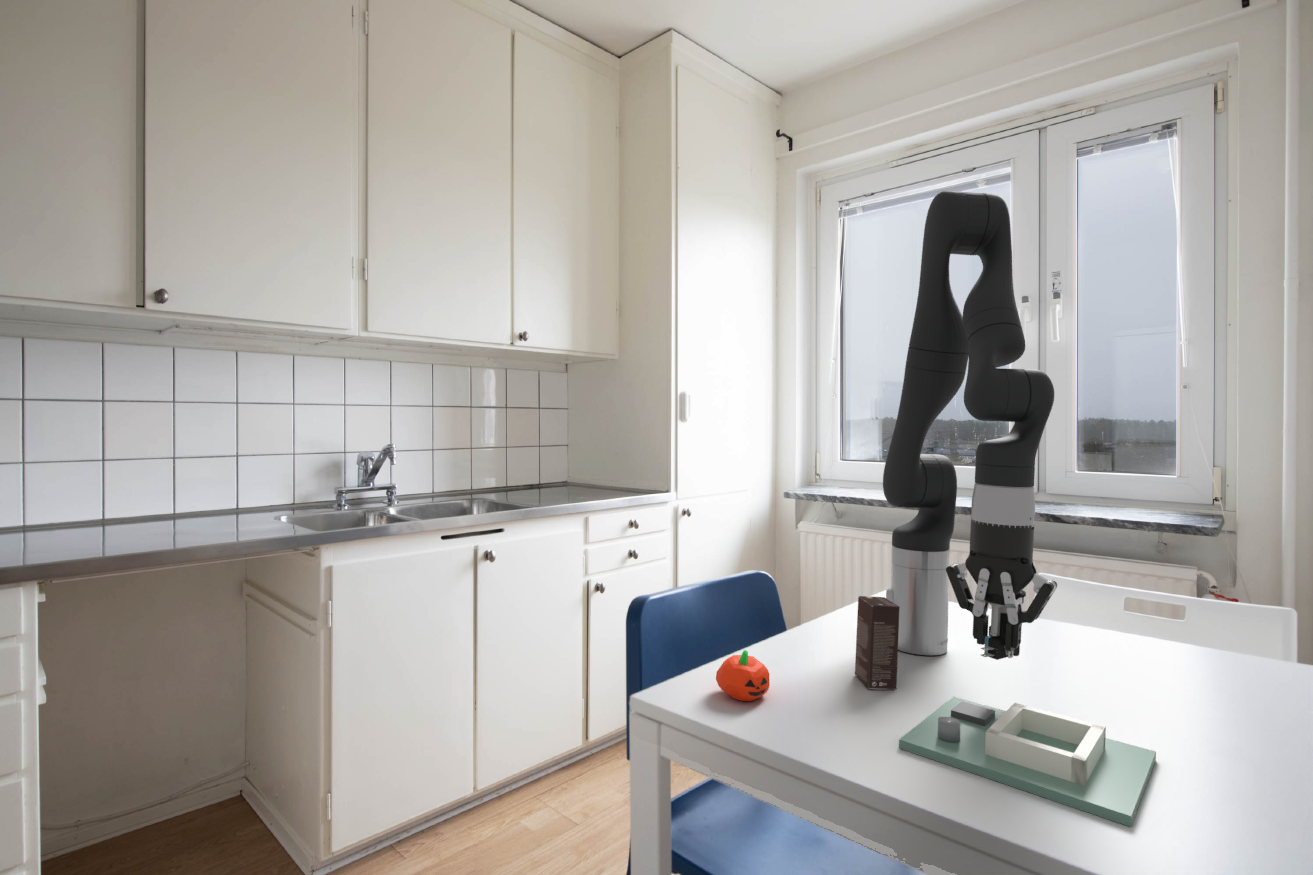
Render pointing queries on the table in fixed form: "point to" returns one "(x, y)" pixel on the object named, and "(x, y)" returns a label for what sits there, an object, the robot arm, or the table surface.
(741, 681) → the pumpkin
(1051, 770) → the board
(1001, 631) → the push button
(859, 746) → the table surface
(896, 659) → the box
